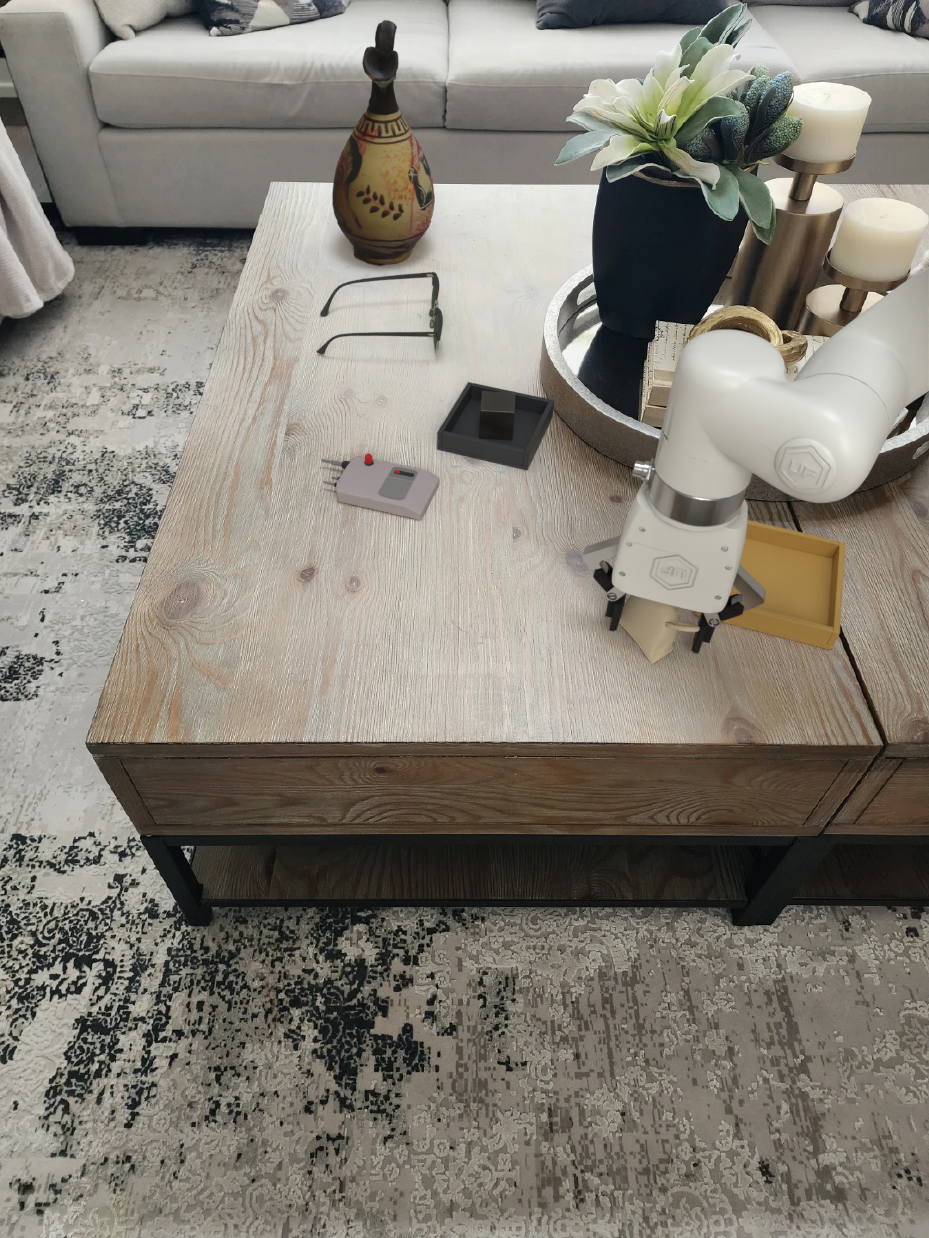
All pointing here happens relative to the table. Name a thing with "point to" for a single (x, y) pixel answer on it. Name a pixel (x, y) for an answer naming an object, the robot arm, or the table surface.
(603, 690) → the table surface
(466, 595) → the table surface
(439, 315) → the sunglasses
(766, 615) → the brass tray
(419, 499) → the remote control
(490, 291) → the table surface
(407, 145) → the ceramic jug
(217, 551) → the table surface
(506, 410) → the black block
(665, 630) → the decorative ornament
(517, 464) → the charcoal tray
